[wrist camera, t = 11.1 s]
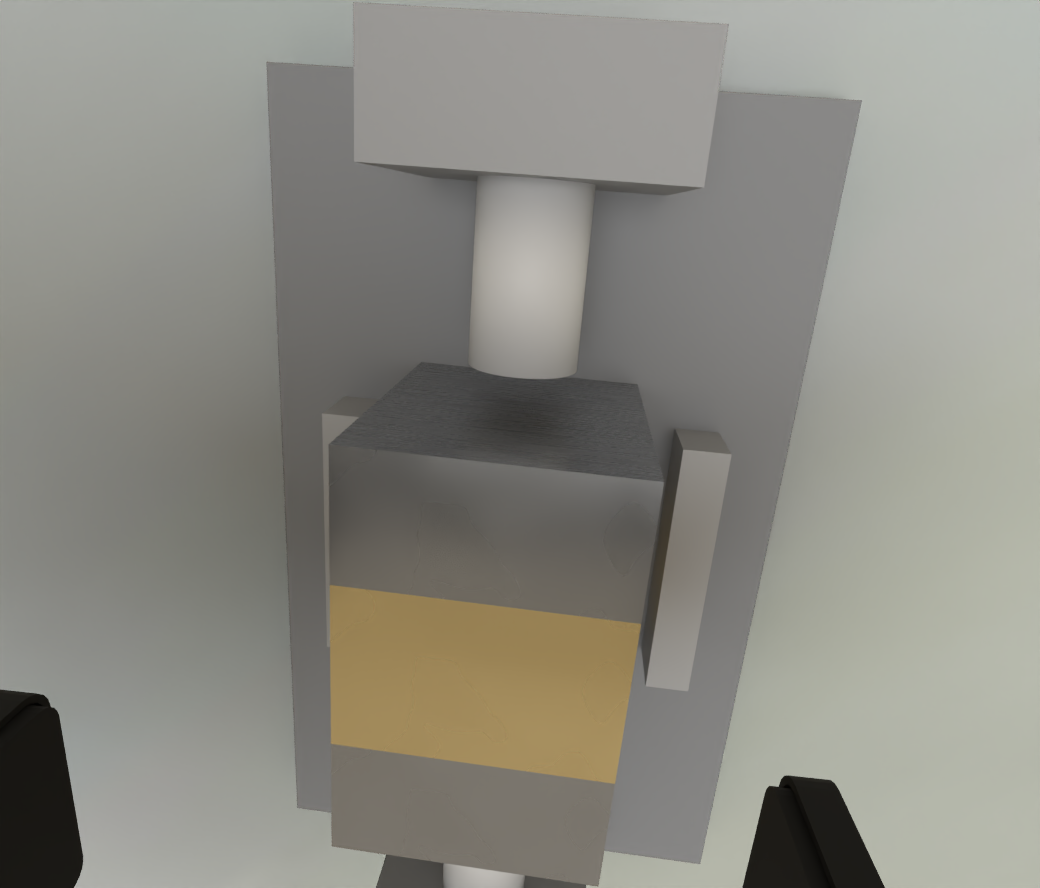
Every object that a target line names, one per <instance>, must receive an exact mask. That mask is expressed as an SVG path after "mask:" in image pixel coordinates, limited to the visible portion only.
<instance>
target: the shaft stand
mask: <svg viewBox="0 0 1040 888" xmlns="http://www.w3.org/2000/svg"><path fill="white" fill-rule="evenodd" d="M728 25H729V24H719V23H702V22H685V21H668V20H650V19H633V18H616V17H599V16H582V15H564V14H547V13H530V12H513V11H496V10H479V9H461V8H444V7H427V6H410V5H393V4H376V3H358V2H353V30H354V68H352V67H337V66H321V65H306V64H290V63H275V62H267V85H268V109H269V133H270V157H271V181H272V206H273V230H274V254H275V278H276V302H277V326H278V350H279V374H280V399H281V423H282V447H283V471H284V495H285V519H286V543H287V567H288V592H289V616H290V640H291V664H292V688H293V712H294V736H295V761H296V785H297V808H303V809H310V810H317V811H324V812H331V813H332V810H331V688H330V567H329V445H328V444H330V443H331V442H332V441H333V440H334V439H335V438H336V437H337V436H339V435H340V434H341V433H342V432H343V431H344V430H345V429H346V428H348V427H349V426H350V425H351V424H352V423H353V422H354V421H355V420H357V419H358V418H359V417H360V416H361V415H362V414H363V413H364V412H366V411H367V410H368V409H369V408H370V407H371V406H372V405H373V404H375V403H376V402H377V401H378V400H379V399H380V398H381V397H382V396H384V395H385V394H386V393H387V392H388V391H389V390H390V389H391V388H393V387H394V386H395V385H396V384H397V383H398V382H399V381H400V380H402V379H403V378H404V377H405V376H406V375H407V374H408V373H409V372H411V371H412V370H413V369H414V368H415V367H416V366H417V365H418V364H420V363H421V362H426V363H435V364H445V365H455V366H464V367H472V368H474V369H477V370H479V371H482V372H485V373H489V374H494V375H499V376H505V377H513V378H524V379H554V378H562V377H570V378H580V379H590V380H599V381H609V382H619V383H628V384H638V388H639V391H640V395H641V399H642V402H643V406H644V410H645V413H646V417H647V421H648V424H649V428H650V432H651V435H652V439H653V443H654V446H655V450H656V454H657V457H658V461H659V464H660V468H661V472H662V475H663V479H664V487H663V494H662V500H661V506H660V512H659V518H658V524H657V530H656V536H655V542H654V549H653V555H652V561H651V567H650V573H649V579H648V585H647V591H646V598H645V604H644V610H643V616H642V622H641V628H640V634H639V640H638V646H637V653H636V659H635V665H634V671H633V677H632V683H631V689H630V695H629V702H628V708H627V714H626V720H625V726H624V732H623V738H622V744H621V750H620V757H619V763H618V769H617V775H616V781H615V787H614V793H613V799H612V806H611V812H610V818H609V824H608V830H607V836H606V842H605V848H604V851H610V852H617V853H624V854H632V855H639V856H646V857H653V858H660V859H667V860H674V861H682V862H689V863H696V864H700V862H701V857H702V852H703V848H704V843H705V838H706V834H707V829H708V824H709V819H710V815H711V810H712V805H713V801H714V796H715V791H716V786H717V782H718V777H719V772H720V768H721V763H722V758H723V753H724V749H725V744H726V739H727V735H728V730H729V725H730V720H731V716H732V711H733V706H734V701H735V697H736V692H737V687H738V683H739V678H740V673H741V668H742V664H743V659H744V654H745V650H746V645H747V640H748V635H749V631H750V626H751V621H752V617H753V612H754V607H755V602H756V598H757V593H758V588H759V584H760V579H761V574H762V569H763V565H764V560H765V555H766V551H767V546H768V541H769V536H770V532H771V527H772V522H773V518H774V513H775V508H776V503H777V499H778V494H779V489H780V485H781V480H782V475H783V470H784V466H785V461H786V456H787V452H788V447H789V442H790V437H791V433H792V428H793V423H794V419H795V414H796V409H797V404H798V400H799V395H800V390H801V386H802V381H803V376H804V371H805V367H806V362H807V357H808V353H809V348H810V343H811V338H812V334H813V329H814V324H815V319H816V315H817V310H818V305H819V301H820V296H821V291H822V286H823V282H824V277H825V272H826V268H827V263H828V258H829V253H830V249H831V244H832V239H833V235H834V230H835V225H836V220H837V216H838V211H839V206H840V202H841V197H842V192H843V187H844V183H845V178H846V173H847V169H848V164H849V159H850V154H851V150H852V145H853V140H854V136H855V131H856V126H857V121H858V117H859V112H860V107H861V103H862V100H846V99H831V98H815V97H800V96H784V95H769V94H754V93H738V92H723V91H719V85H720V79H721V72H722V65H723V59H724V52H725V45H726V39H727V32H728ZM376 888H586V885H585V884H579V883H572V882H565V881H559V880H552V879H546V878H539V877H532V876H526V875H519V874H512V873H506V872H499V871H493V870H486V869H479V868H473V867H466V866H459V865H453V864H446V863H440V862H433V861H426V860H420V859H413V858H406V857H400V856H393V855H386V858H385V861H384V864H383V867H382V870H381V874H380V877H379V880H378V883H377V886H376Z"/></svg>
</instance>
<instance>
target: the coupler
mask: <svg viewBox="0 0 1040 888" xmlns="http://www.w3.org/2000/svg"><path fill="white" fill-rule="evenodd" d="M328 445H329V567H330V688H331V810H332V846H333V847H340V848H347V849H353V850H360V851H367V852H373V853H380V854H386V855H393V856H400V857H406V858H413V859H420V860H426V861H433V862H440V863H446V864H453V865H459V866H466V867H473V868H479V869H486V870H493V871H499V872H506V873H512V874H519V875H526V876H532V877H539V878H546V879H552V880H559V881H565V882H572V883H579V884H585V885H592V886H598V885H599V879H600V873H601V867H602V861H603V854H604V848H605V842H606V836H607V830H608V824H609V818H610V812H611V806H612V799H613V793H614V787H615V781H616V775H617V769H618V763H619V757H620V750H621V744H622V738H623V732H624V726H625V720H626V714H627V708H628V702H629V695H630V689H631V683H632V677H633V671H634V665H635V659H636V653H637V646H638V640H639V634H640V628H641V622H642V616H643V610H644V604H645V598H646V591H647V585H648V579H649V573H650V567H651V561H652V555H653V549H654V542H655V536H656V530H657V524H658V518H659V512H660V506H661V500H662V494H663V487H664V479H663V475H662V472H661V468H660V464H659V461H658V457H657V454H656V450H655V446H654V443H653V439H652V435H651V432H650V428H649V424H648V421H647V417H646V413H645V410H644V406H643V402H642V399H641V395H640V391H639V388H638V384H628V383H619V382H609V381H599V380H590V379H580V378H570V377H562V378H554V379H524V378H513V377H505V376H499V375H494V374H489V373H485V372H482V371H479V370H477V369H474V368H472V367H464V366H455V365H445V364H435V363H426V362H421V363H420V364H418V365H417V366H416V367H415V368H414V369H413V370H412V371H411V372H409V373H408V374H407V375H406V376H405V377H404V378H403V379H402V380H400V381H399V382H398V383H397V384H396V385H395V386H394V387H393V388H391V389H390V390H389V391H388V392H387V393H386V394H385V395H384V396H382V397H381V398H380V399H379V400H378V401H377V402H376V403H375V404H373V405H372V406H371V407H370V408H369V409H368V410H367V411H366V412H364V413H363V414H362V415H361V416H360V417H359V418H358V419H357V420H355V421H354V422H353V423H352V424H351V425H350V426H349V427H348V428H346V429H345V430H344V431H343V432H342V433H341V434H340V435H339V436H337V437H336V438H335V439H334V440H333V441H332V442H331V443H330V444H328Z"/></svg>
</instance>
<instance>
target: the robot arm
mask: <svg viewBox="0 0 1040 888" xmlns="http://www.w3.org/2000/svg"><path fill="white" fill-rule="evenodd" d="M82 865H83V853H82V848H81V842H80V836H79V830H78V824H77V818H76V812H75V806H74V801H73V795H72V789H71V783H70V777H69V771H68V765H67V760H66V754H65V748H64V742H63V736H62V730H61V724H60V719H59V714H58V712H57V710H56V709H55V708H52V707H51V706H50V703H49V700H48V699H47V698H46V697H45V696H44V695H41V694H34V693H25V692H16V691H7V690H0V888H74V886H75V885H76V883H77V880H78V878H79V876H80V873H81V870H82ZM743 888H885V887H884V885H883V883H882V881H881V879H880V877H879V874H878V872H877V870H876V868H875V866H874V864H873V862H872V859H871V857H870V855H869V853H868V851H867V849H866V847H865V845H864V842H863V840H862V838H861V836H860V834H859V832H858V830H857V828H856V825H855V823H854V821H853V819H852V817H851V815H850V813H849V811H848V808H847V806H846V804H845V802H844V800H843V798H842V796H841V794H840V791H839V790H838V788H837V786H836V785H835V783H833V782H832V781H831V780H823V779H814V778H805V777H796V776H784V777H783V778H782V779H781V782H780V785H779V787H774V786H769V787H768V788H767V790H766V792H765V796H764V800H763V804H762V808H761V813H760V817H759V821H758V825H757V829H756V834H755V838H754V842H753V846H752V850H751V855H750V859H749V863H748V867H747V871H746V875H745V880H744V884H743Z"/></svg>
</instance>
